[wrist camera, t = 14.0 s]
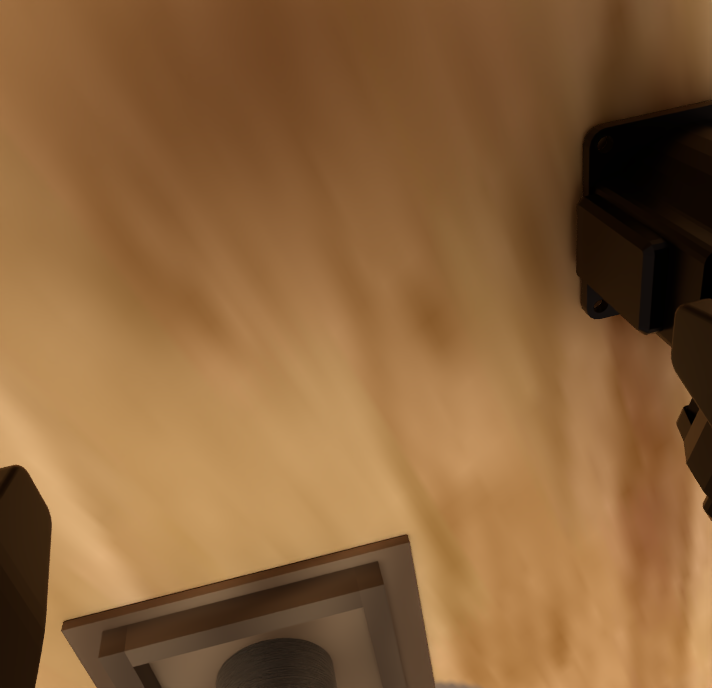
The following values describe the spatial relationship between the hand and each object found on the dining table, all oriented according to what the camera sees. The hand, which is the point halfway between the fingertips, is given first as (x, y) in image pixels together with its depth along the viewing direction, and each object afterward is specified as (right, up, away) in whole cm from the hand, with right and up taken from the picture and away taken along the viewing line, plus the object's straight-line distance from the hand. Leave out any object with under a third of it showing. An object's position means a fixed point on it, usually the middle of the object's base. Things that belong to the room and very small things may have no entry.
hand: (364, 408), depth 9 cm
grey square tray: (-4, -14, +21) cm, 26 cm away
